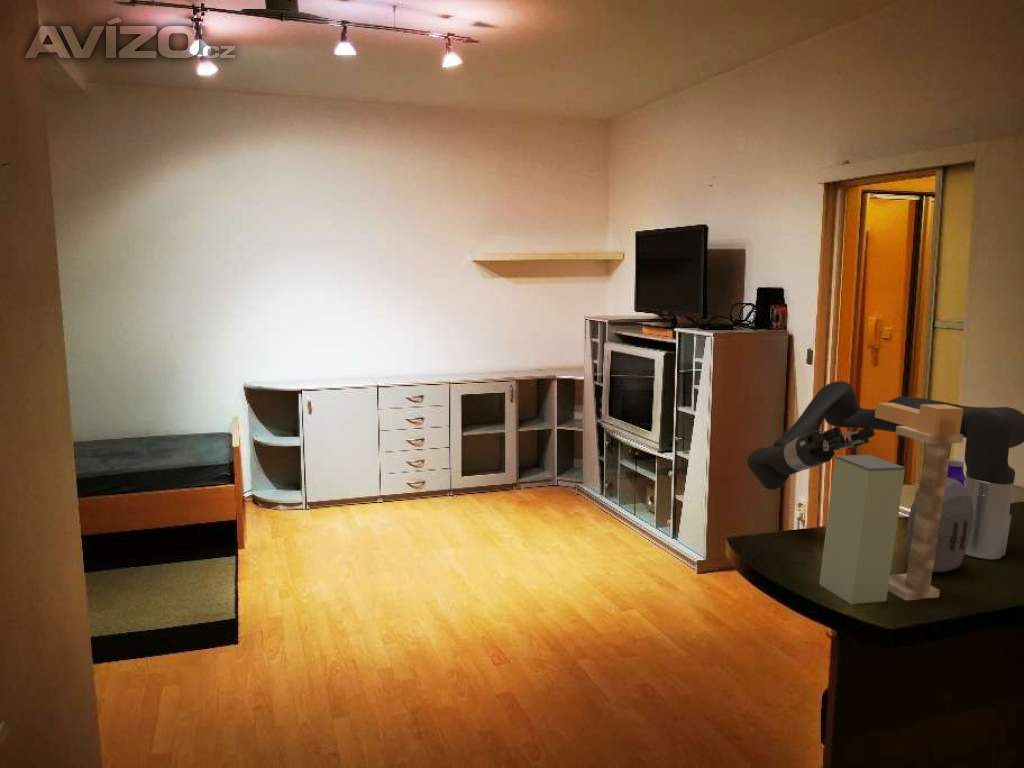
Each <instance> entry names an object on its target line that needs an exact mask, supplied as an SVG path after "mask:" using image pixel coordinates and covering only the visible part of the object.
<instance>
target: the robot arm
mask: <svg viewBox="0 0 1024 768" xmlns="http://www.w3.org/2000/svg"><path fill="white" fill-rule="evenodd" d="M886 403H896V404H900V405H904V406H908V407H911V408H915V409H919V410H920V405H940V404H946V405H950V406H954V407H958V408H962V409H963V415H962V421H961V428H960V434H961V435H964V436H963V438H965V447H964V465H965V467H966V472H965V484H964V487H965V488H966V489H967V491H968V492H969V494H970V497H971V499H972V506H973V524H972V531H971V532H970V536H969V540H968V544H967V548H966V551H965V554H964V555H966V556H970V557H975V558H978V559H985V560H998V559H1001V558H1002V557H1003V556H1006V551H1007V546H1008V545H1007V544H1008V539H1009V532H1010V526H1011V521H1012V515H1011V514H1010V508H1011V504H1012V503H1011V501H1012V495H1013V489H1014V483H1015V478H1016V470H1015V469H1014V468H1013V467H1011V466H1010V465H1009V454H1010V453H1009V452H1010V449H1012V448H1016V447H1018V446H1020V445H1021V444H1023V443H1024V413H1023V412H1022V411H1020V410H1018V409H1016V408H1015V407H1014V408H1013V407H1010V406H1009V407H1008V406H1000V407H999V406H998V407H993V406H992V407H987V406H985V407H983V406H966V405H960V404H956V403H951V402H945V401H941V400H934V399H927V398H922V397H914V396H913V397H912V396H911V397H910V396H898V397H895V398H892V399H890V400H888V401H887V402H886ZM875 410H876V408H875V409H869V408H863V407H860V406H859V403H858V399H857V397H856V394H855V391H854V388H853V386H852V385H851V383H849V382H847V381H842V380H840V381H833V382H830V383H827V384H825V385H824V386H823V387H822V388H820V389H819V390H818V392H817V393H816V394H815V395H814V396H813V398H812V400H811V401H810V402H809V403H808V405H807V406H806V408H805V409H804V411H803V412H802V413H801V415H800V416H799V417H798V419H797V420H796V421H795V422H794V423H793V425H792V426H791V427H790V428H789V429H788V430H786V431H785V432H784V433H783V434H782V435H781V436H780V437H779V438H777V440H776V441H774V443H773V444H772V446H764V447H761V448H757V449H755V450H752V452H751V453H750V454H749V455H748V457H747V459H746V465H747V467H748V469H749V470H750V472H751V473H752V474H753V475H754V476H755V478H756V479H757V480H758V482H759V483H760V484H761V486H763V487H764V488H765V489H766V490H769V491H774V490H775V491H776V490H777V489H779V488H781V487H783V486H784V484H786V482H787V480H788V479H789V477H790V475H795V474H797V473H799V472H801V471H805V470H809V469H812V468H814V467H817V466H821V465H822V464H825V463H827V462H829V461H831V460H832V459H833V458H834V457H835V452H840V451H842V450H843V449H847V450H852V449H854V448H857V447H861V446H862V445H865V444H868V443H870V440H869V439H870V438H873V437H875V433H876V432H875V431H877V430H878V431H884V432H885V431H886V432H891V433H895V432H896V426H903V425H900V424H896V423H893V422H889V421H886V420H883V419H879V418H876V417H875ZM824 420H825V422H826V423H827V424H828V425H830V426H832V428H830V429H828V430H820V429H821V426H822V423H823V421H824ZM841 428H845V429H846V428H848V429H860V430H856V431H852V432H851V431H849V430H846V431H843V432H842V429H841ZM845 436H846V437H845Z"/></svg>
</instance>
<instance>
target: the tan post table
mask: <svg viewBox="0 0 1024 768" xmlns="http://www.w3.org/2000/svg"><path fill="white" fill-rule="evenodd" d="M894 433H895V434H896V435H898V436H902V437H905V438H909V439H912V440H914V441H918V442H922V443H924V444H925V446H924V453H923V460H922V466H921V472H920V481H919V487H918V488H919V492H918V499H917V506H916V513H915V520H914V527H913V534H912V541H911V548H910V554H909V561H908V562H907V570H906V573H898V574H890V579H889V586H888V592H889V593H891V594H892V595H895V596H897V597H899V598H900V599H902V600H904V601H905V602H907V601H913V600H914V601H915V600H925V599H936V598H940V593H941V592H940V591H941V590H940V589H939V588H937V587H935V586H933V585H931V583H932V578H933V577H932V576H933V573H934V572H933V565H934V558H935V552H936V545H937V538H938V532H939V525H940V519H941V512H942V505H943V499H944V492H945V485H946V479H947V472H948V465H949V459H950V458H951V451H952V445H953V444H963V442H964V437H963V436H964V435H961V434H959V435H942V436H933V435H930V434H926V433H923V432H920V431H917V429H914V428H910V427H907V426H896V432H894Z"/></svg>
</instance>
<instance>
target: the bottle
mask: <svg viewBox="0 0 1024 768" xmlns="http://www.w3.org/2000/svg"><path fill="white" fill-rule="evenodd" d="M964 466H965V460H964V459H963V460H962V459H959V458H954V457H950V459H949V465H948V472H947V477H948V478H952V479H956V480H957V481H959V482H960V483H961V484H963V485H964V481H965V478H966V475H965V473H964Z"/></svg>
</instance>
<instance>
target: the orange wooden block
mask: <svg viewBox="0 0 1024 768" xmlns="http://www.w3.org/2000/svg"><path fill="white" fill-rule="evenodd" d="M875 403H876V404H875V409H876V410H875V417H876V418H879V419H883V420H886V421H889V422H893V423H896V424H900V425H903V426H907V427H910V428H914V429H917V431H920V432H923V433H926V434H930V435H933V436H942V435H959V434H960V428H961V421H962V415H963V409H962V408H958V407H954V406H950V405H946V404H940V405H920V410H919V409H915V408H911V407H908V406H904V405H900V404H896V403H887V402H875Z"/></svg>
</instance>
